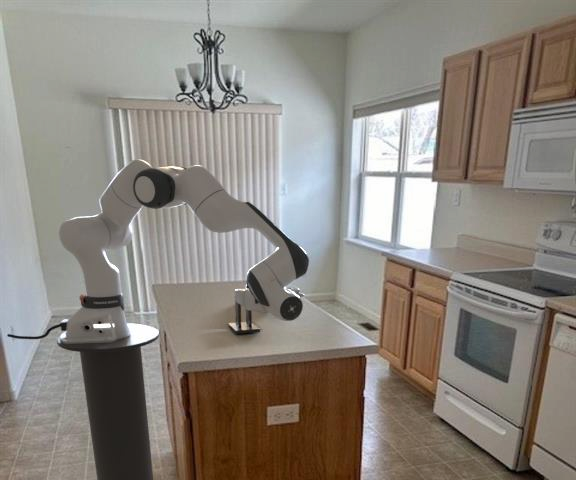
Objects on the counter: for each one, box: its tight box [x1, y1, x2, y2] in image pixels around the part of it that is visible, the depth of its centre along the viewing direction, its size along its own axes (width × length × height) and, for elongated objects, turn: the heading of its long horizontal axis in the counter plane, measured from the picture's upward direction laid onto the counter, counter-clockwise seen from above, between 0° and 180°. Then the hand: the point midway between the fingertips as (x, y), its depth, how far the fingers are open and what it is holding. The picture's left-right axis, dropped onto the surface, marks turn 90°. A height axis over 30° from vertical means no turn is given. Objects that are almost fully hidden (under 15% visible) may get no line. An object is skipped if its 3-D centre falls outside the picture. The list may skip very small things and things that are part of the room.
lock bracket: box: [227, 299, 261, 335], centre depth 197 cm, size 12×9×14 cm
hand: (260, 290), depth 173 cm, fingers open, 8 cm apart
